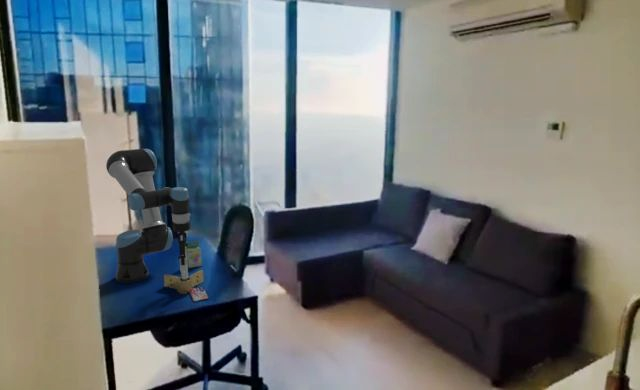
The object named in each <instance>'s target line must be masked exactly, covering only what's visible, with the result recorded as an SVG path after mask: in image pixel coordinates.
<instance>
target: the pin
mask: <svg viewBox="0 0 640 390" xmlns="http://www.w3.org/2000/svg"><path fill="white" fill-rule="evenodd" d="M186 268H187V271H183V272H180V275H181V276H180V277H181V278H182V281H187V280H188V276H189V271H188V270H189V268H188V266H187V260H186Z"/></svg>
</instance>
